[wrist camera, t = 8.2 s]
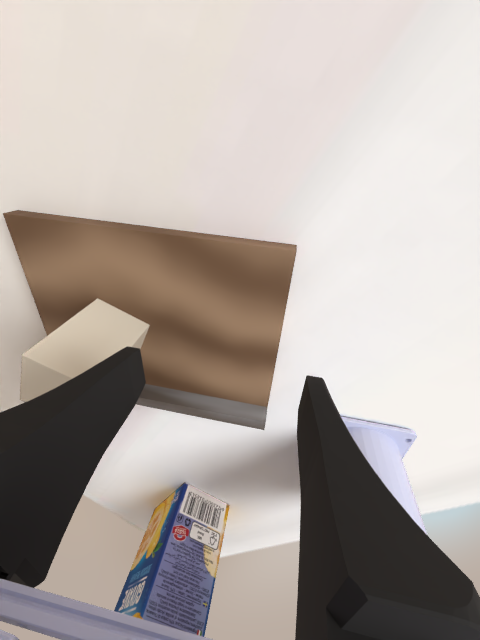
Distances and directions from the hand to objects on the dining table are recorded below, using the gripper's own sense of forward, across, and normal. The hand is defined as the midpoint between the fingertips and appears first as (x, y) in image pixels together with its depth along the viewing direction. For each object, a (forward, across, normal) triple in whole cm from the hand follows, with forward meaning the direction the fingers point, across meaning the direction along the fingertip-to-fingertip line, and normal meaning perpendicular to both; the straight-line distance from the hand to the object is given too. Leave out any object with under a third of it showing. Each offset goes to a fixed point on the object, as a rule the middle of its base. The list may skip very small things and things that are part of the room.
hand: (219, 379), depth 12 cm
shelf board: (+10, +8, +4) cm, 13 cm away
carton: (+8, +10, +5) cm, 14 cm away
